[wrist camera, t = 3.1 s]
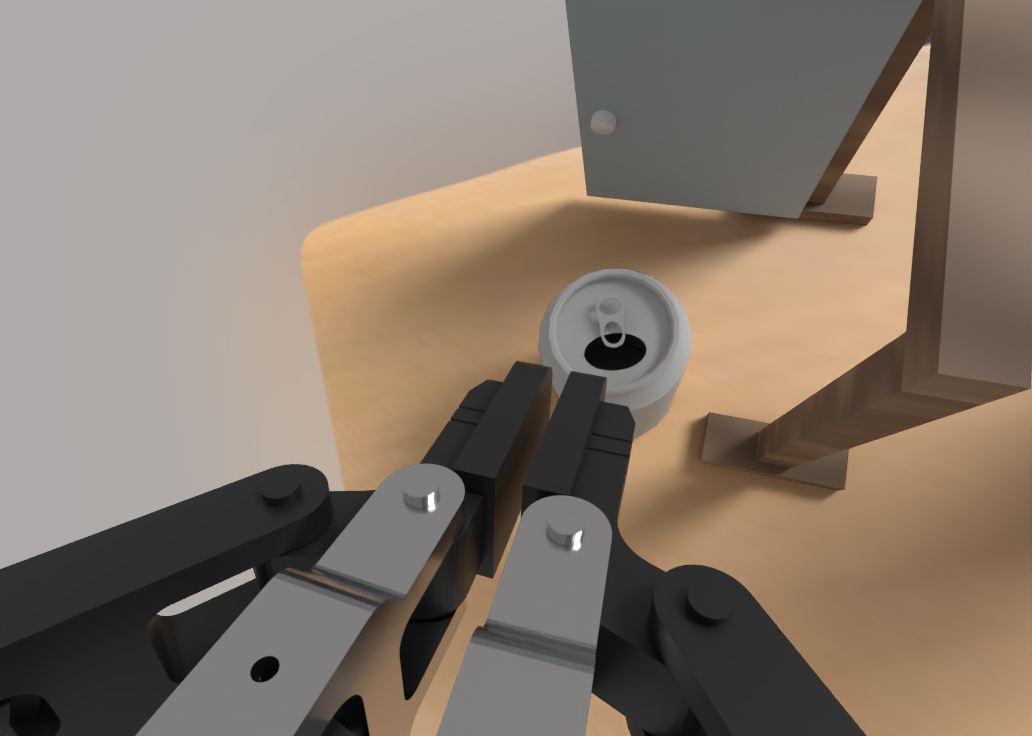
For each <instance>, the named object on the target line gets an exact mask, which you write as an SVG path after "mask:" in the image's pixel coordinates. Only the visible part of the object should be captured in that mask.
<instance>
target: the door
mask: <svg viewBox="0 0 1032 736" xmlns="http://www.w3.org/2000/svg"><path fill="white" fill-rule="evenodd" d="M565 2H566V11H567V19H568V28H569V37H570V46H571V55H572V64H573V72H574V82H575V91H576V100H577V108H578V118H579V127H580V136H581V145H582V154H583V163H584V172H585V181H586V190H587V196H595V197H604V198H613V199H622V200H631V201H640V202H649V203H658V204H667V205H676V206H685V207H695V208H704V209H713V210H722V211H731V212H740V213H749V214H758V215H767V216H776V217H786V218H795V219H798V217H799V215H800V214H801V212H802V210H803V208H804V207H805V205H806V203H807V201H808V200H809V198H810V196H811V194H812V193H813V191H814V189H815V187H816V186H817V184H818V182H819V180H820V179H821V177H822V175H823V173H824V172H825V170H826V168H827V166H828V165H829V163H830V161H831V159H832V158H833V156H834V154H835V152H836V151H837V149H838V147H839V145H840V144H841V142H842V140H843V138H844V137H845V135H846V133H847V131H848V130H849V128H850V126H851V124H852V123H853V121H854V119H855V117H856V116H857V114H858V112H859V110H860V109H861V107H862V105H863V103H864V102H865V100H866V98H867V96H868V95H869V93H870V91H871V89H872V88H873V86H874V84H875V82H876V81H877V79H878V77H879V75H880V74H881V72H882V70H883V68H884V67H885V65H886V63H887V61H888V60H889V58H890V56H891V54H892V53H893V51H894V49H895V47H896V46H897V44H898V42H899V40H900V39H901V37H902V35H903V33H904V32H905V30H906V28H907V26H908V25H909V23H910V21H911V19H912V18H913V16H914V14H915V12H916V11H917V9H918V7H919V5H920V4H921V2H922V0H565Z"/></svg>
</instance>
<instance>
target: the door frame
mask: <svg viewBox="0 0 1032 736" xmlns="http://www.w3.org/2000/svg"><path fill="white" fill-rule="evenodd" d="M931 32H932V37H931V49H930V61H929V72H928V84H927V96H926V107H925V119H924V131H923V142H922V154H921V165H920V177H919V189H918V200H917V212H916V224H915V235H914V247H913V259H912V270H911V282H910V294H909V305H908V317H907V329H906V332H905V333H904V334H902V335H901V336H899V337H898V338H896V339H895V340H893V341H892V342H890V343H889V344H887V345H886V346H884V347H883V348H882V349H880V350H879V351H877V352H876V353H874V354H873V355H871V356H870V357H868V358H867V359H865V360H864V361H862V362H861V363H859V364H858V365H856V366H855V367H853V368H852V369H851V370H849V371H848V372H846V373H845V374H843V375H842V376H840V377H839V378H837V379H836V380H834V381H833V382H831V383H830V384H828V385H827V386H825V387H824V388H822V389H821V390H820V391H818V392H817V393H815V394H814V395H812V396H811V397H809V398H808V399H806V400H805V401H803V402H802V403H800V404H799V405H797V406H796V407H794V408H793V409H791V410H790V411H789V412H787V413H786V414H784V415H783V416H781V417H780V418H778V419H777V420H775V421H774V422H772V423H771V424H769V423H763V422H758V421H753V420H748V419H742V418H737V417H732V416H726V415H721V414H716V413H710V412H709V413H708V415H707V419H706V425H705V432H704V438H703V444H702V450H701V456H700V462H704V463H709V464H714V465H719V466H724V467H728V468H733V469H738V470H743V471H748V472H752V473H757V474H762V475H767V476H771V477H776V478H781V479H786V480H791V481H795V482H800V483H805V484H810V485H815V486H819V487H824V488H829V489H834V490H845V481H846V472H847V462H848V452H849V448H852V447H855V446H858V445H861V444H864V443H867V442H870V441H874V440H877V439H880V438H883V437H886V436H889V435H892V434H895V433H898V432H901V431H904V430H907V429H910V428H913V427H916V426H919V425H922V424H925V423H928V422H931V421H934V420H937V419H940V418H943V417H946V416H949V415H952V414H955V413H958V412H961V411H964V410H967V409H970V408H973V407H976V406H979V405H982V404H985V403H988V402H991V401H994V400H997V399H1000V398H1003V397H1006V396H1010V395H1013V394H1016V393H1019V392H1022V391H1025V390H1028V389H1031V372H1032V0H922V2H921V4H920V5H919V7H918V9H917V11H916V12H915V14H914V16H913V18H912V19H911V21H910V23H909V25H908V26H907V28H906V30H905V32H904V33H903V35H902V37H901V39H900V40H899V42H898V44H897V46H896V47H895V49H894V51H893V53H892V54H891V56H890V58H889V60H888V61H887V63H886V65H885V67H884V68H883V70H882V72H881V74H880V75H879V77H878V79H877V81H876V82H875V84H874V86H873V88H872V89H871V91H870V93H869V95H868V96H867V98H866V100H865V102H864V103H863V105H862V107H861V109H860V110H859V112H858V114H857V116H856V117H855V119H854V121H853V123H852V124H851V126H850V128H849V130H848V131H847V133H846V135H845V137H844V138H843V140H842V142H841V144H840V145H839V147H838V149H837V151H836V152H835V154H834V156H833V158H832V159H831V161H830V163H829V165H828V166H827V168H826V170H825V172H824V173H823V175H822V177H821V179H820V180H819V182H818V184H817V186H816V187H815V189H814V191H813V193H812V194H811V196H810V198H809V200H808V201H807V203H806V205H805V207H804V208H803V210H802V212H801V214H800V215H799V217H798V218H805V219H814V220H824V221H833V222H842V223H851V224H860V225H867V224H868V223H869V222H870V220H871V219H872V218H873V212H874V202H875V193H876V183H877V177H876V176H865V175H854V174H843V172H844V171H845V169H846V168H847V166H848V164H849V163H850V161H851V160H852V158H853V156H854V155H855V153H856V152H857V150H858V148H859V147H860V145H861V144H862V142H863V140H864V139H865V137H866V136H867V134H868V132H869V131H870V129H871V128H872V126H873V124H874V123H875V121H876V120H877V118H878V116H879V115H880V113H881V112H882V110H883V109H884V107H885V105H886V104H887V102H888V101H889V99H890V97H891V96H892V94H893V93H894V91H895V89H896V88H897V86H898V85H899V83H900V81H901V80H902V78H903V77H904V75H905V73H906V72H907V70H908V69H909V67H910V65H911V64H912V62H913V61H914V59H915V57H916V56H917V54H918V53H919V51H920V49H921V48H922V46H923V45H924V43H925V41H926V40H927V38H928V37H929V35H930V34H931Z"/></svg>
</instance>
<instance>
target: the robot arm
mask: <svg viewBox="0 0 1032 736" xmlns="http://www.w3.org/2000/svg"><path fill="white" fill-rule="evenodd" d="M552 377H553V371H552V367H548V366H542V365H537V364H531V363H526V362H520V361H516V362H515V364H514V365H513V367H512V369H511V370H510V372H509V374H508V375H507V377H506V379H505V380H504V382H498V381H493V380H486V381H485V382H483V383H481V384H480V385H478V386H476V387H475V388H473V389H472V390H470V391H469V392H468V394H467V395H466V397H465V398H464V400H463V401H462V403H461V404H460V406H459V409H457V410H456V411H455V413H454V414H453V416H452V417H451V421H449V422H448V423H447V425H446V426H445V428H444V429H443V431H442V432H441V433H440V435H439V436H438V438H437V439H436V441H435V442H434V444H433V445H432V447H431V448H430V450H429V451H428V453H427V454H426V456H425V457H424V458H423V460H422V461H421V463H420V464H415V465H410V466H407V467H404V468H401V469H399V470H397V471H395V472H393V473H392V474H391V475H389V476H388V477H387V478H386V479H385V480H384V481H383V482H382V483H381V485H380V486H379V487H378V488H377V490H370V491H329V486H328V481H327V479H326V477H325V475H324V474H323V473H322V472H321V471H319V470H318V469H316V468H313V467H311V466H307V465H300V464H290V465H282V466H278V467H274V468H271V469H268V470H265V471H263V472H260V473H257V474H254V475H252V476H249V477H247V478H244V479H241V480H238V481H236V482H233V483H230V484H228V485H225V486H222V487H220V488H217V489H214V490H212V491H209V492H206V493H204V494H201V495H198V496H195V497H193V498H190V499H187V500H185V501H182V502H179V503H177V504H174V505H171V506H169V507H166V508H163V509H161V510H158V511H155V512H153V513H150V514H147V515H145V516H142V517H139V518H137V519H134V520H131V521H128V522H126V523H123V524H120V525H118V526H115V527H112V528H110V529H107V530H104V531H102V532H99V533H96V534H94V535H91V536H88V537H86V538H83V539H80V540H77V541H75V542H72V543H69V544H67V545H64V546H62V547H59V548H56V549H53V550H51V551H48V552H46V553H43V554H40V555H37V556H35V557H32V558H29V559H27V560H24V561H21V562H18V563H16V564H13V565H10V566H8V567H5V568H2V569H0V736H410V733H411V728H412V725H413V721H414V718H415V716H416V713H417V711H418V708H419V706H420V704H421V702H422V700H423V698H424V696H425V694H426V692H427V690H428V688H429V686H430V684H431V681H432V679H433V677H434V675H435V673H436V671H437V669H438V667H439V665H440V663H441V661H442V659H443V657H444V655H445V653H446V651H447V648H448V646H449V644H450V642H451V640H452V638H453V636H454V634H455V632H456V630H457V628H458V626H459V624H460V622H461V620H462V618H463V616H464V613H465V610H466V605H467V594H468V592H469V590H470V587H471V585H472V583H473V581H474V578H475V576H476V574H478V575H482V576H485V577H489V578H492V579H493V577H494V575H495V572H496V570H497V567H498V565H499V562H500V560H501V558H502V555H503V553H504V550H505V548H506V545H507V543H508V540H509V538H510V535H511V533H512V530H513V528H514V525H515V523H516V520H517V518H518V516H519V513H520V511H521V520H520V523H519V526H518V529H517V532H516V535H515V538H514V541H513V544H512V547H511V550H510V553H509V556H508V559H507V562H506V565H505V568H504V571H503V574H502V577H501V580H500V583H499V586H498V589H497V592H496V595H495V598H494V601H493V604H492V607H491V610H490V613H489V616H488V618H487V621H486V623H485V625H484V627H482V626H478V627H477V628H476V630H475V631H474V633H473V635H472V637H471V639H470V642H469V644H468V647H467V650H466V653H465V656H464V658H463V661H462V664H461V667H460V670H459V673H458V676H457V678H456V681H455V684H454V687H453V690H452V693H451V696H450V698H449V701H448V704H447V707H446V710H445V713H444V716H443V718H442V721H441V724H440V727H439V730H438V733H437V736H585V733H586V726H587V719H588V712H589V705H590V698H591V692H592V693H593V694H595V695H596V696H597V697H599V698H600V699H602V700H603V701H604V702H606V703H607V704H609V705H610V706H611V707H613V708H614V709H616V710H617V711H618V712H620V713H621V714H623V715H624V716H626V721H627V725H628V729H629V731H630V734H631V736H866V735H865V733H864V732H863V731H862V730H861V729H860V727H859V726H858V725H857V724H856V722H855V721H854V720H853V719H852V717H851V716H850V715H849V714H848V713H847V711H846V710H845V709H844V708H843V706H842V705H841V704H840V703H839V701H838V700H837V699H836V698H835V697H834V695H833V694H832V693H831V692H830V690H829V689H828V688H827V687H826V685H825V684H824V683H823V682H822V681H821V679H820V678H819V677H818V676H817V674H816V673H815V672H814V671H813V670H812V668H811V667H810V666H809V665H808V663H807V662H806V661H805V660H804V658H803V657H802V656H801V655H800V654H799V652H798V651H797V650H796V649H795V647H794V646H793V645H792V644H791V642H790V641H789V640H788V639H787V638H786V636H785V635H784V634H783V633H782V631H781V630H780V629H779V628H778V626H777V625H776V624H775V623H774V622H773V620H772V619H771V618H770V617H769V615H768V614H767V613H766V612H765V610H764V609H763V608H762V607H761V606H760V604H759V603H758V602H757V601H756V599H755V598H754V597H753V596H752V594H751V593H750V592H749V591H748V590H747V589H746V588H745V587H744V586H743V585H742V584H741V583H739V582H738V581H737V580H736V579H734V578H732V577H731V576H729V575H728V574H726V573H724V572H722V571H719V570H717V569H714V568H711V567H707V566H702V565H683V566H678V567H676V568H673V569H671V570H669V571H668V572H665V571H663V570H661V569H659V568H657V567H656V566H654V565H652V564H650V563H648V562H647V561H645V560H644V559H642V558H641V557H639V556H638V555H637V554H636V553H634V552H633V551H632V550H631V549H630V548H629V547H628V545H627V544H626V543H625V541H624V540H623V538H622V536H621V534H620V532H619V529H618V525H617V521H618V516H619V511H620V506H621V501H622V496H623V491H624V486H625V481H626V475H627V470H628V464H629V459H630V453H631V447H632V442H633V436H634V430H635V425H636V423H635V421H634V419H633V416H632V414H631V412H630V410H629V407H628V406H623V405H618V404H613V403H608V402H604V400H605V393H606V386H607V377H603V376H597V375H592V374H586V373H581V372H575V371H571V372H570V374H569V377H568V379H567V381H566V384H565V386H564V388H563V391H562V393H561V395H560V398H559V400H558V403H557V405H556V407H555V410H554V412H553V414H552V417H551V419H550V422H549V415H550V403H551V390H552ZM251 568H253V570H254V573H255V576H256V578H255V579H253V580H251V581H249V582H247V583H245V584H243V585H240V586H238V587H236V588H234V589H232V590H230V591H227V592H225V593H223V594H221V595H219V596H217V597H215V598H212V599H210V600H208V601H206V602H204V603H202V604H199V605H197V606H195V607H193V608H191V609H189V610H187V611H185V612H182V613H180V614H177V615H173V616H160V615H157V613H158V612H160V611H161V610H162V609H164V608H166V607H167V606H169V605H171V604H174V603H176V602H178V601H180V600H182V599H185V598H187V597H189V596H191V595H193V594H196V593H198V592H200V591H202V590H204V589H206V588H209V587H211V586H213V585H215V584H218V583H220V582H222V581H224V580H226V579H229V578H231V577H233V576H235V575H237V574H240V573H242V572H244V571H246V570H248V569H251Z"/></svg>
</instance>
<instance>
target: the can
mask: <svg viewBox="0 0 1032 736" xmlns="http://www.w3.org/2000/svg"><path fill="white" fill-rule="evenodd" d="M538 348H539V352H540V356H541V360H542V364H543V366H548V367H552V371H553V377H552V386H553V388H554V390H555V392H556V394H557V395H558V397H559V398H560V395H561V393H562V391H563V388H564V386H565V384H566V381H567V379H568V377H569V374H570V372H571V371H575V372H581V373H586V374H592V375H597V376H603V377H607V386H606V393H605V400H604V402H608V403H613V404H618V405H623V406H628V407H629V410H630V412H631V414H632V416H633V419H634V421H635V423H636V425H635V430H634V436H633V437H637V436H641V435H642V434H644V433H646V432H647V431H649V430H650V429H652V428H654V427H655V426H656V425H657V424H658V423H659V422H660V421H661V419H662V418H663V417H664V416H665V415H666V413H667V412H668V410H669V408H670V405H671V403H672V400H673V398H674V395H675V393H676V390H677V388H678V385H679V383H680V380H681V377H682V375H683V372H684V370H685V367H686V364H687V362H688V359H689V357H690V354H691V327H690V324H689V321H688V318H687V315H686V312H685V309H684V307H683V306H682V304H681V303H680V302H679V301H678V299H677V298H676V297H675V295H674V294H673V293H672V291H671V290H670V289H669V288H667V287H666V286H664V285H663V284H661V283H660V282H658V281H657V280H656V279H654V278H653V277H651V276H648V275H645V274H642V273H638V272H635V271H632V270H629V269H602V270H599V271H595V272H592V273H588V274H586V275H583V276H582V277H580V278H578V279H577V280H575V281H574V282H572V283H570V284H569V285H567V286H566V287H564V288H563V289H562V290H561V291H560V293H559V294H558V295H557V296H556V297H555V298H554V299H553V301H552V302H551V303H550V304H549V306H548V308H547V311H546V313H545V315H544V317H543V320H542V322H541V324H540V333H539V344H538Z"/></svg>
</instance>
